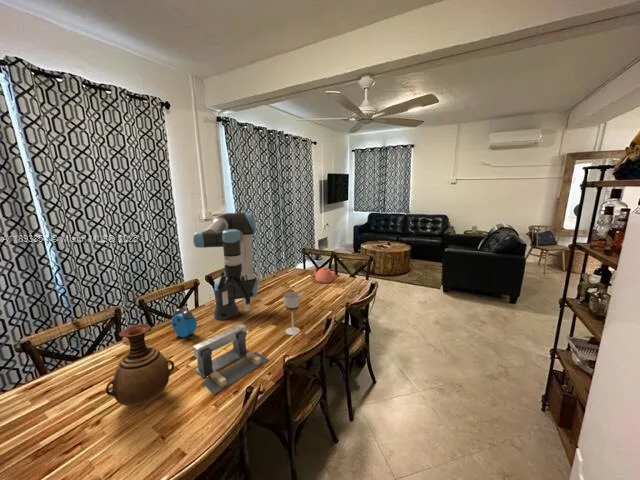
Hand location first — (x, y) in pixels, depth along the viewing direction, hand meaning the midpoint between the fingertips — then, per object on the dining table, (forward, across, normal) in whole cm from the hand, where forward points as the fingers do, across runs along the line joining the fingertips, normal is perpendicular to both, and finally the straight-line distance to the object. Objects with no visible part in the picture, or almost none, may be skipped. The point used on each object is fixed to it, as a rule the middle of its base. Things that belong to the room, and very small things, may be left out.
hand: (236, 307), depth 129 cm
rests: (+26, +8, -9) cm, 28 cm away
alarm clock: (+26, -40, 0) cm, 47 cm away
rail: (+16, -3, -7) cm, 18 cm away
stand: (+26, -3, -7) cm, 27 cm away
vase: (+26, -12, -38) cm, 47 cm away
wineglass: (+26, +11, +31) cm, 42 cm away
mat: (+26, +8, -9) cm, 28 cm away
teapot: (+25, -11, +111) cm, 114 cm away
